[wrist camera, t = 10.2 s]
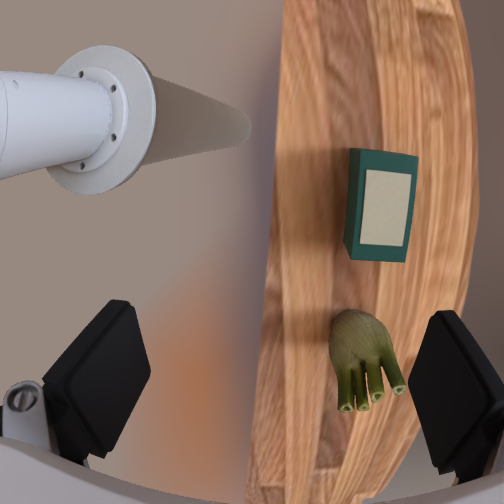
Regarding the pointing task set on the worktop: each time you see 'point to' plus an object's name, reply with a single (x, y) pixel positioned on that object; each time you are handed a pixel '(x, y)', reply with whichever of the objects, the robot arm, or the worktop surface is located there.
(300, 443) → the worktop surface
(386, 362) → the fennel bulb
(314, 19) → the worktop surface
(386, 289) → the worktop surface
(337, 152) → the worktop surface
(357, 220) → the tea packet
